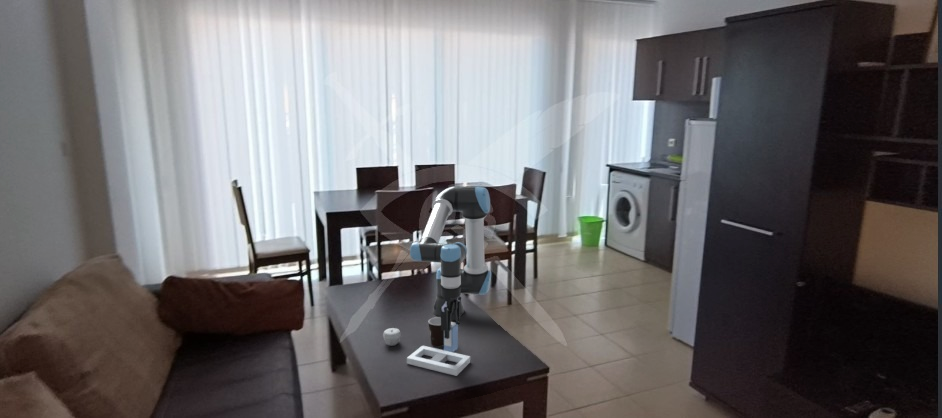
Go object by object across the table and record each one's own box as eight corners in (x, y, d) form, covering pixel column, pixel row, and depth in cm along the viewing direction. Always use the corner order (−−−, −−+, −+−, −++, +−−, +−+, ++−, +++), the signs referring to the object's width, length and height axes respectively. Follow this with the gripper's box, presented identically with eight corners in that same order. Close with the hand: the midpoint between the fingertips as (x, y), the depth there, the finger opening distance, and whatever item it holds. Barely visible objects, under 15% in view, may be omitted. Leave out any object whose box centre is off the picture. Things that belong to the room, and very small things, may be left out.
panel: (422, 351, 216) (422, 345, 215) (470, 362, 207) (470, 356, 206) (407, 363, 205) (406, 357, 205) (456, 375, 196) (456, 369, 195)
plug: (448, 346, 205) (448, 320, 203) (457, 348, 203) (457, 322, 201) (443, 350, 201) (443, 324, 199) (453, 352, 199) (453, 326, 197)
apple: (394, 338, 228) (394, 324, 226) (405, 344, 222) (405, 329, 221) (379, 343, 222) (378, 329, 221) (390, 350, 217) (389, 335, 215)
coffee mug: (445, 348, 218) (445, 326, 216) (426, 346, 220) (425, 324, 218) (452, 336, 229) (452, 315, 228) (433, 334, 231) (433, 313, 229)
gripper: (452, 277, 206) (452, 332, 211) (431, 290, 191) (431, 350, 196) (469, 280, 203) (469, 336, 208) (449, 294, 188) (449, 354, 192)
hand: (450, 342), depth 202 cm, fingers closed on plug, 4 cm apart
